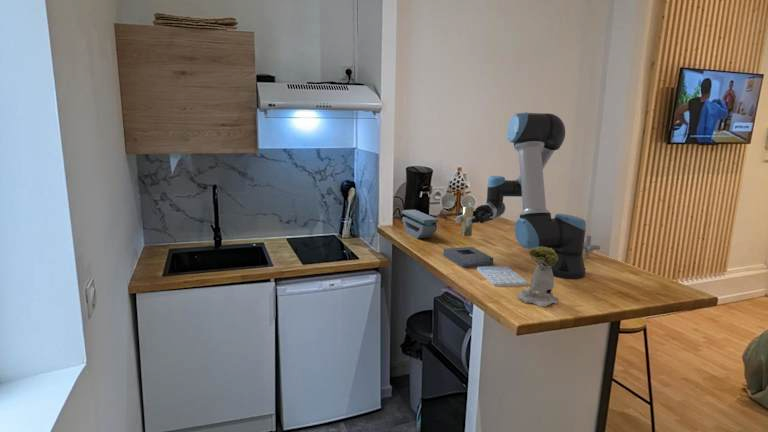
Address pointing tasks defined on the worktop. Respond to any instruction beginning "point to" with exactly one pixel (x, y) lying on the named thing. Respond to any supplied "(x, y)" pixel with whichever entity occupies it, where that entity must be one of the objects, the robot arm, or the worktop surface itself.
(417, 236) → the grey boxy piece
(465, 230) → the brushed metal cylinder
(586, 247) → the pipe connector
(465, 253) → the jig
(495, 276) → the calculator
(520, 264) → the worktop surface
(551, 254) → the mossy stone tower
